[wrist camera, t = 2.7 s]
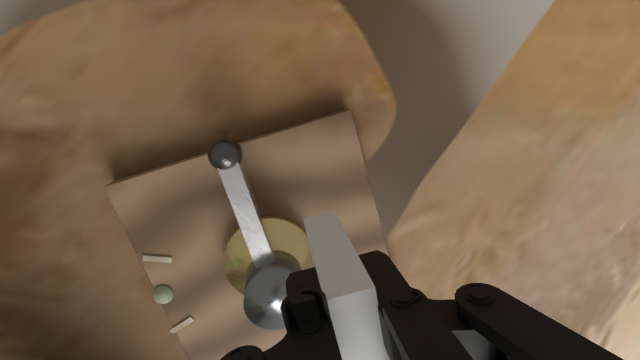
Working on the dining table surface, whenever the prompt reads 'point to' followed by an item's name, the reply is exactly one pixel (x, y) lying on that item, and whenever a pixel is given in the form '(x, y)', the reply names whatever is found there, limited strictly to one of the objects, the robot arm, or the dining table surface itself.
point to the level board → (220, 221)
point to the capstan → (257, 243)
